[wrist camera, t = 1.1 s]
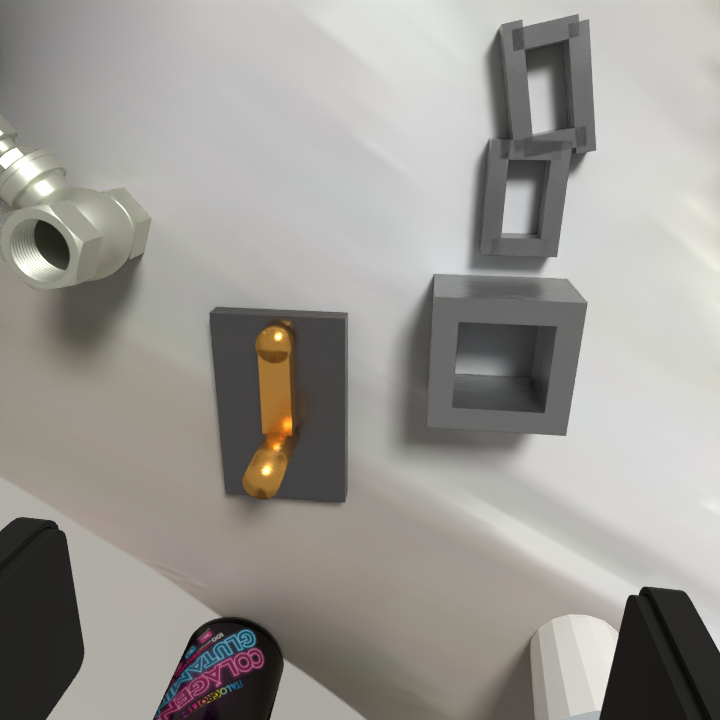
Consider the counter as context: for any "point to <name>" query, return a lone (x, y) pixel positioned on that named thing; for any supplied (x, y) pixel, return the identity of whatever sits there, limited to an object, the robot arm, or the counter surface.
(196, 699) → the supplement container
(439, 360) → the end link
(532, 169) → the counter surface
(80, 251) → the valve
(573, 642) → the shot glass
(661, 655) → the robot arm
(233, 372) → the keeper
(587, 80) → the chain tail
